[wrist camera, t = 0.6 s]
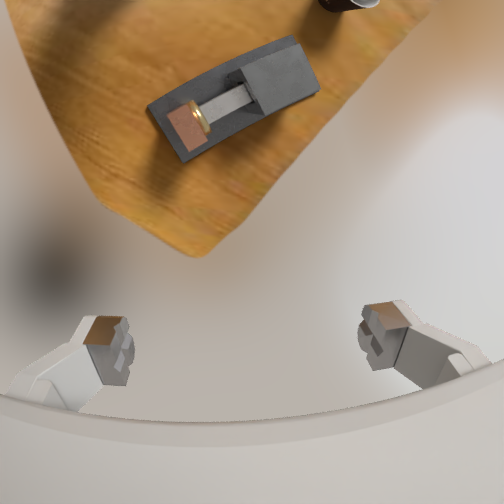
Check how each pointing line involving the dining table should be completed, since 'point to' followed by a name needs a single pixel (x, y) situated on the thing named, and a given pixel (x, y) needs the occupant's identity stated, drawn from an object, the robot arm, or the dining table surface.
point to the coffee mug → (347, 4)
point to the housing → (257, 82)
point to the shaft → (206, 115)
